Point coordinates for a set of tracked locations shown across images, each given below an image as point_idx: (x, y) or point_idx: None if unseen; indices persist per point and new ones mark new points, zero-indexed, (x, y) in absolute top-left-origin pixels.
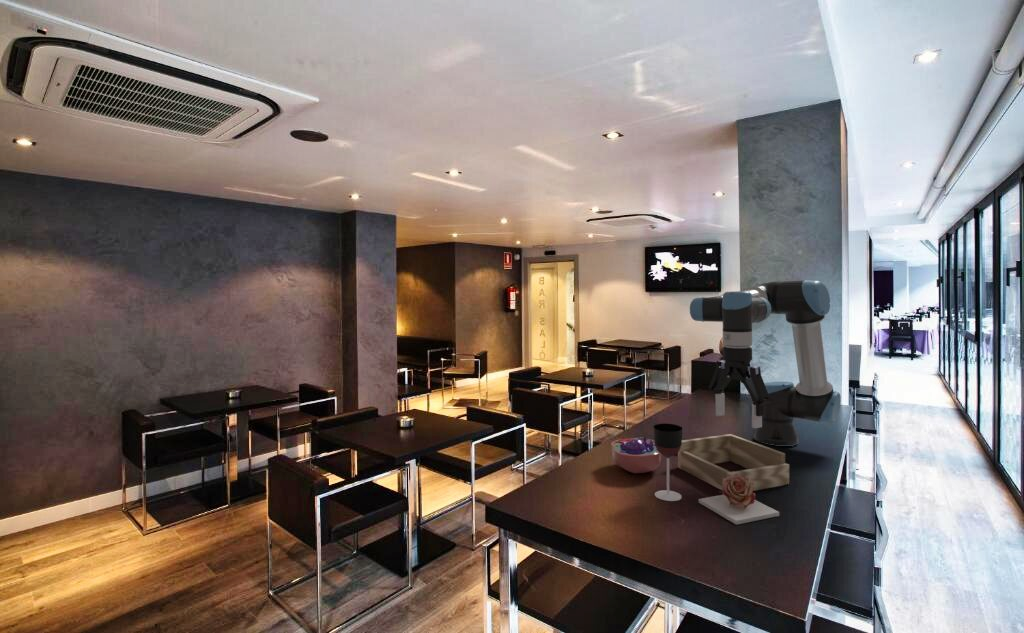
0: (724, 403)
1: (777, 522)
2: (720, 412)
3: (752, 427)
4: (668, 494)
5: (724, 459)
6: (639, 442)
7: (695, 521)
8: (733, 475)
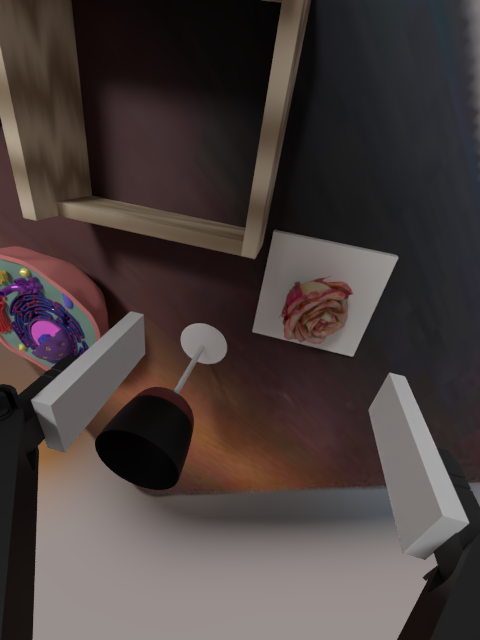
0: (104, 355)
1: (406, 287)
2: (135, 348)
3: (371, 411)
4: (206, 349)
5: (65, 9)
6: (50, 349)
7: (299, 386)
8: (296, 314)
